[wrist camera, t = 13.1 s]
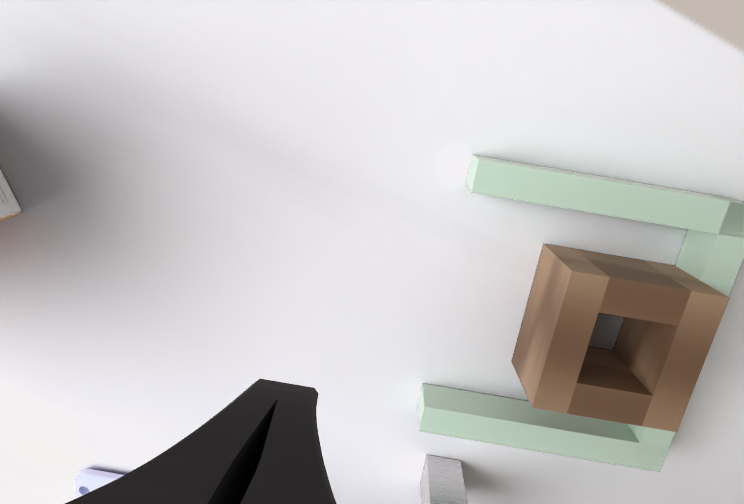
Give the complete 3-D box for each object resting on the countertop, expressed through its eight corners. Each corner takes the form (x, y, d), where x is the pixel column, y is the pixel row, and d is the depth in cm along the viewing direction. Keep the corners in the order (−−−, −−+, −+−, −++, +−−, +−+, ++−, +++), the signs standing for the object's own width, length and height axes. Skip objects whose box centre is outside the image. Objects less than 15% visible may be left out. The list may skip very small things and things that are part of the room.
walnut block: (633, 382, 22) (676, 432, 19) (511, 361, 22) (532, 407, 19) (674, 265, 20) (729, 297, 17) (543, 243, 20) (571, 271, 17)
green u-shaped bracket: (640, 444, 23) (659, 472, 21) (417, 406, 23) (418, 431, 21) (731, 198, 20) (763, 207, 18) (471, 154, 20) (478, 159, 18)
